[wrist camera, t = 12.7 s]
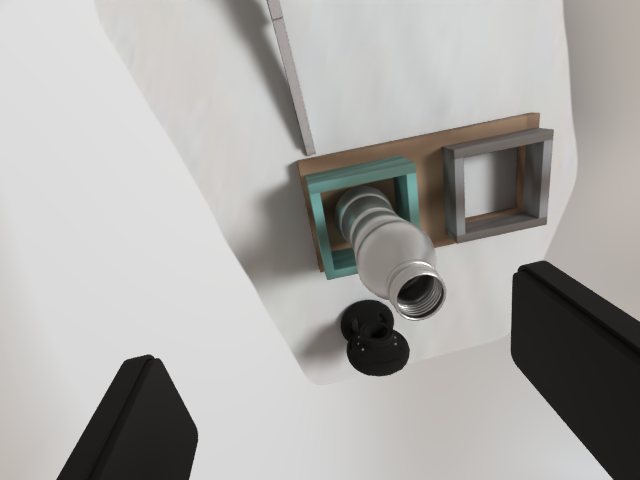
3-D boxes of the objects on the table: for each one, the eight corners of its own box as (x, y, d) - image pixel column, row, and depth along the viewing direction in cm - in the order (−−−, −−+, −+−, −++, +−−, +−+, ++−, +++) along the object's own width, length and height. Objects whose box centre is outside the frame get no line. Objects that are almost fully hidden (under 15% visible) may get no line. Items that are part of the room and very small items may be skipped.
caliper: (249, -60, 33) (242, -95, 27) (260, -63, 33) (256, -98, 27) (306, 155, 40) (311, 165, 35) (316, 152, 40) (322, 162, 35)
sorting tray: (297, 160, 40) (300, 171, 34) (531, 112, 41) (574, 114, 35) (319, 266, 46) (325, 292, 40) (525, 222, 46) (562, 241, 40)
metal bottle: (327, 232, 42) (363, 337, 24) (336, 177, 40) (385, 246, 21) (378, 237, 43) (451, 342, 25) (390, 184, 41) (480, 256, 22)
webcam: (392, 294, 48) (418, 340, 39) (394, 338, 51) (419, 390, 42) (336, 303, 48) (350, 351, 39) (341, 346, 51) (355, 401, 42)
